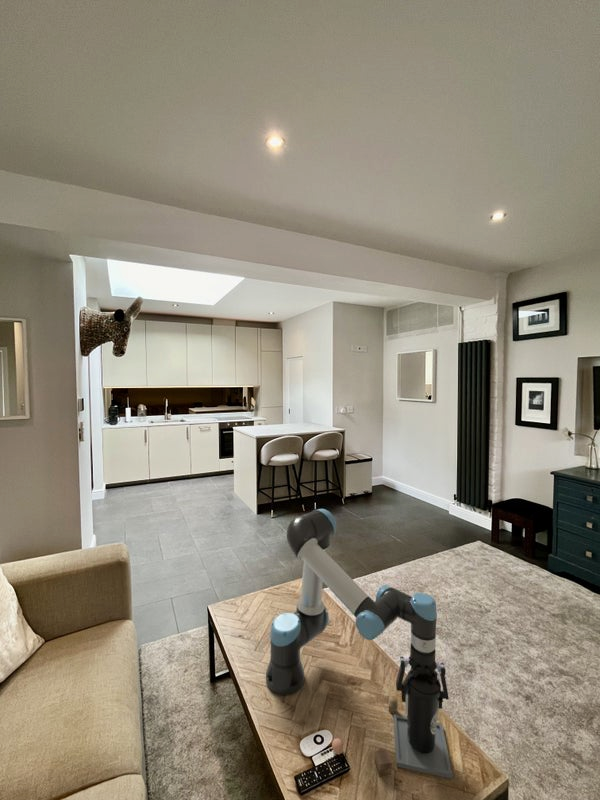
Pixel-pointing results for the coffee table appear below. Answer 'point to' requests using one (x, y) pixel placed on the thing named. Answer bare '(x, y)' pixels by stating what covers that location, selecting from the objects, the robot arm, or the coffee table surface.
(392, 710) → the cylinder
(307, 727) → the coffee table surface
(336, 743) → the rubber ball
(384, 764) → the walnut cube
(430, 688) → the water bottle
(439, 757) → the tray
